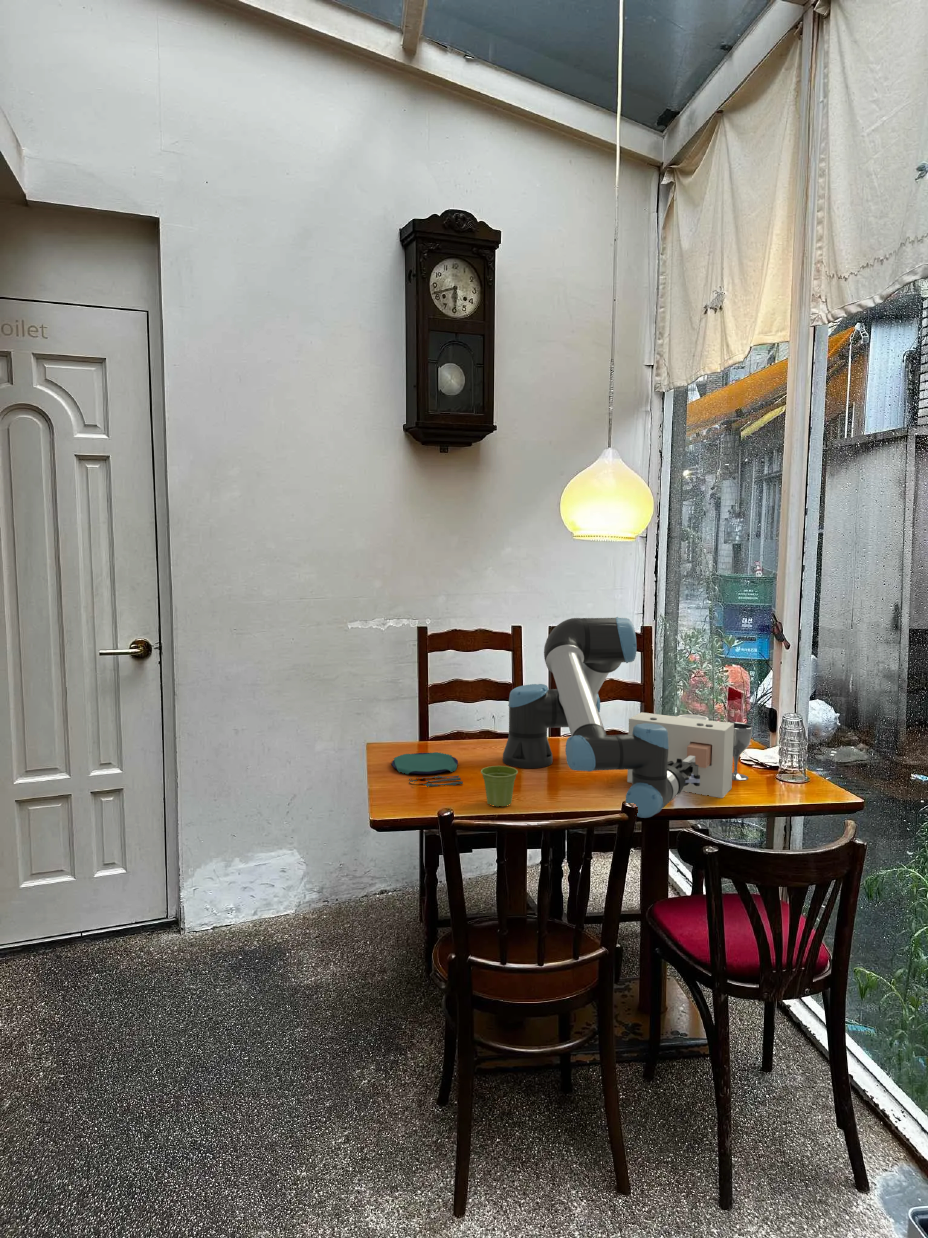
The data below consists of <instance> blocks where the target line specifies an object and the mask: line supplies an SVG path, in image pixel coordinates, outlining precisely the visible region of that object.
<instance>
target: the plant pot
mask: <svg viewBox="0 0 928 1238" xmlns="http://www.w3.org/2000/svg"><path fill="white" fill-rule="evenodd" d="M518 773H519V771H518V769H516V767H513V766H508V765H492V766H491V765H490V766H487V767H486V766H485V767H483V768H481V770H480V774H482V778H483V781H484V788H485V794H486V801H487V802H486V803H487V805H488V804H491V805H494V806H496V807H499V806H507V805H509V804H511V805H512V802H513V801H512V800H513V793H514V786H515V780H516V778H517V777H516V776H517V775H518ZM509 806H510V805H509ZM507 807H508V806H507Z"/></svg>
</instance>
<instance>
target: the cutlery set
mask: <svg viewBox="0 0 928 1238" xmlns="http://www.w3.org/2000/svg"><path fill="white" fill-rule="evenodd" d="M458 765H459V760H458V759H457V758H456V757H455V756H452V755H451V754H448V753H443V752H416V753H403V754H400V755H398V756H396V757H394V758H393V760H392V761H391V766H392V767H393V768H394V769H395V770H397V771H398V773H400V772H402V773H401V774H404V773H405V774H404V775H409V774H415V775H431V774H439V773H443V772H448V771H450V773H451V772H453V771H454V772H455V771H456V770H457V767H458ZM454 772H453V773H454ZM459 776H460V775H453V776H450V775H449V776H447V775H446V776H442V775H437V776H435V775H434V776H431V777H429V776H427V777H421V778H422V779H423V778H441V779H435V780H429V779H426V781H428V782H433V783H428V782H426V783H427V784H423V783H424V782H420V784H423V785H426V786H427V787H428V786H432V787H439V786H438V785H453V786H457V785H456V784H463V785H464V782H463V781H456V780H461V779H462V778H461V777H459ZM447 777H449V778H447ZM458 777H459V778H458ZM416 778H417V779H418V778H419V777H416ZM408 779H409V780H410V779H411V778H408ZM413 781H417V780H410V781H408V782H409V784H410V782H413ZM450 781H451V782H450ZM452 781H453V782H452ZM441 782H447V783H441Z"/></svg>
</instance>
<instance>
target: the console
mask: <svg viewBox="0 0 928 1238" xmlns="http://www.w3.org/2000/svg"><path fill="white" fill-rule="evenodd" d="M644 723H649V724H657V725H661V726H663V727H665V728H666V729H667V732H668V747H669V749H668V761H673V762H674V763H676V762H677V759H682V761H683V760H684V759H686V758H687V746H689V745H690V744H691V743H693V742H697V743H704V744H712V763H711V764H710V765H709V766H708V767H707V768H702V767H699V768H698V774H699V775H700V786H695V785H694V784H691V783H689V784H688V785H687V786H684V787H683V789H682V791H681V792H683V791H687V792H686V793H689V792H692V793H691V794H695V793H696V794H697V795H701V794H702V796H707V795H709V796H708V797H712V798H718V799H723V798H724V797H725V796H726V795H727V794H728V793H729V792H730V791H731V790H732V789H733V788H732V785H733V780H732V773H733V765H734V764H733V763H734V758H733V737H734V723H728V722H726V721H725V722H724V721H717V720H716V721H715V720H701V719H693V718H684V717H677V716H674V715H665V714H660V713H659V714H658V713H649V712H642V711H641V712H638V713H637V714H635V715H633V716H632V717H630V718H628V735H631V734H632V732H633V728H634V726H635V725H637V724H644ZM688 777H689V778H690V777H691V776H688ZM626 781H627V783H629V784H630V783H631V784H632V769H627V779H626Z"/></svg>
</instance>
